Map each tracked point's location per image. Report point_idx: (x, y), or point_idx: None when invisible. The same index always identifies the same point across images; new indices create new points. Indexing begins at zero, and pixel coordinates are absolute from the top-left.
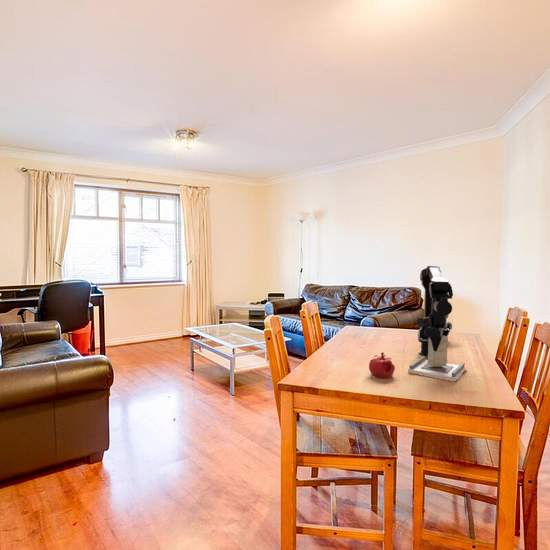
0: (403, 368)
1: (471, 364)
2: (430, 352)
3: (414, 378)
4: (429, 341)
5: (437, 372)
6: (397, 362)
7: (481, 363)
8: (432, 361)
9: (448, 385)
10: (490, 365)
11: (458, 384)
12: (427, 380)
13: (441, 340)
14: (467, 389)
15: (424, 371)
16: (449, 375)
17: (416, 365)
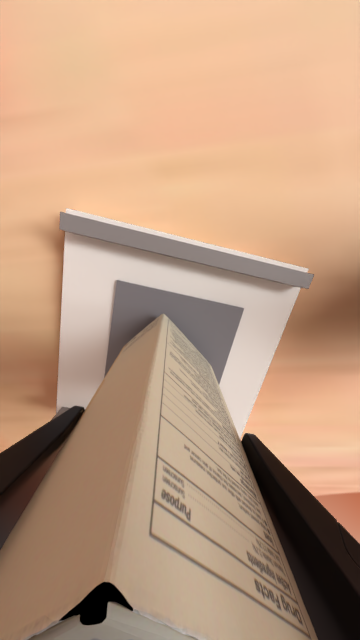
0: (144, 179)
1: (316, 446)
2: (130, 360)
3: (3, 257)
4: (118, 430)
5: (92, 355)
6: (256, 122)
7: (337, 471)
8: (127, 348)
9: (6, 388)
10: (318, 490)
11: (42, 415)
12: (14, 315)
13: (94, 608)
14: (7, 438)
15: (72, 300)
16: (76, 399)
17: (149, 251)
